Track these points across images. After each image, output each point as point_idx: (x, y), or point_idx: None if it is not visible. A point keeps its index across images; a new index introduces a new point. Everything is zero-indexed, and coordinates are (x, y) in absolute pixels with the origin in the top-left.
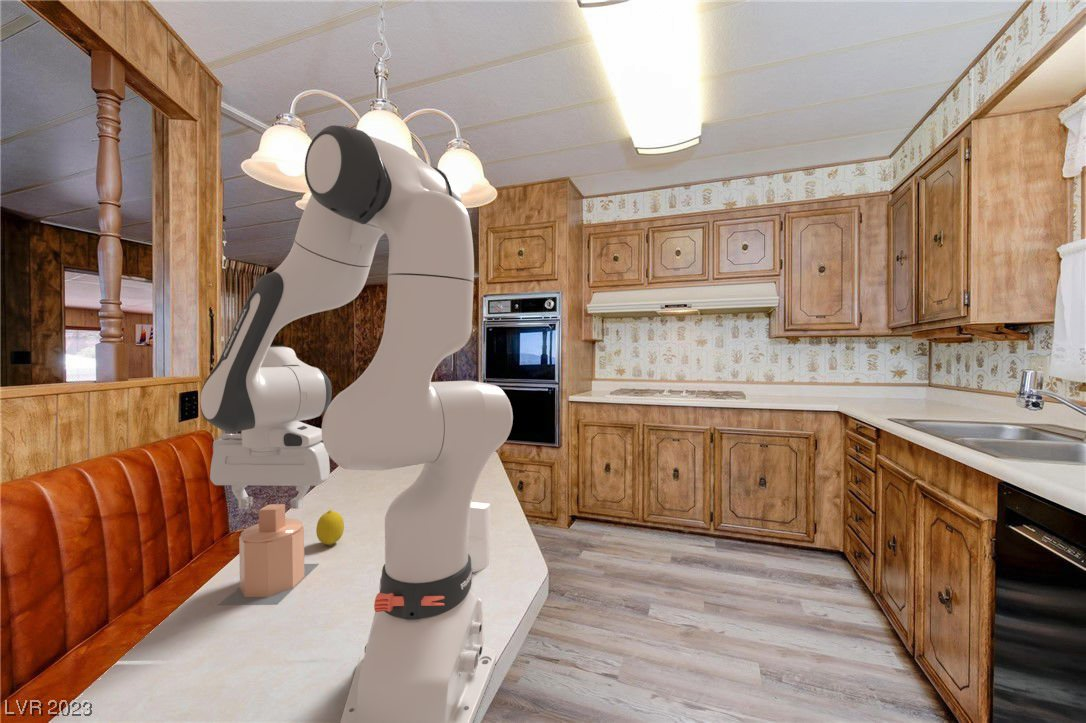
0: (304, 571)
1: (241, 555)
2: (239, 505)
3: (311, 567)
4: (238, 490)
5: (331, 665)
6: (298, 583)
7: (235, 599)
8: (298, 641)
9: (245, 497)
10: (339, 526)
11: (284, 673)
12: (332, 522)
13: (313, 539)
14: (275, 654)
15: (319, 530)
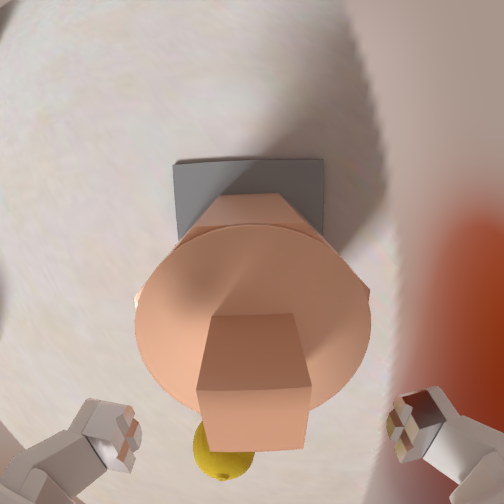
0: None
1: (327, 243)
2: (440, 395)
3: None
4: (485, 456)
5: (17, 48)
6: None
7: (295, 181)
8: (72, 70)
9: (432, 445)
10: (194, 444)
11: (65, 14)
12: (203, 450)
13: None
14: (93, 36)
15: None
